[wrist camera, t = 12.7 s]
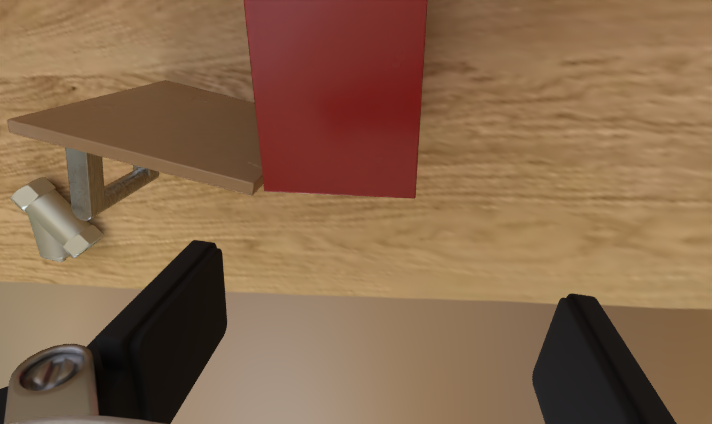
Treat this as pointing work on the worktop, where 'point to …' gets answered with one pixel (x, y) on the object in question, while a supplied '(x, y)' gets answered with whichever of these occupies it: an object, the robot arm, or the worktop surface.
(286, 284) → the worktop surface
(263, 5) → the valve cabinet
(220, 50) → the worktop surface
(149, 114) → the cabinet door
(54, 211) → the pipe fitting
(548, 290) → the worktop surface
